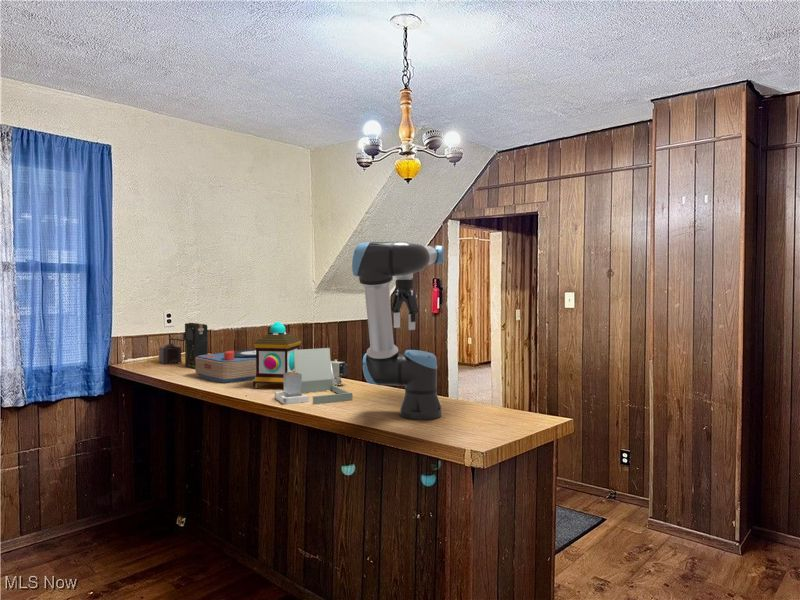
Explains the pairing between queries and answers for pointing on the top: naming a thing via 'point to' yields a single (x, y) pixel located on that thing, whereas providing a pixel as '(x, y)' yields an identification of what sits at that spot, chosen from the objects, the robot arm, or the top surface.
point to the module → (292, 384)
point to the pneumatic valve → (339, 371)
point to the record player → (227, 366)
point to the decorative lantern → (275, 355)
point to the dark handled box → (170, 352)
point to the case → (318, 374)
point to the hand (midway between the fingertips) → (404, 328)
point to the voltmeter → (195, 342)
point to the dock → (290, 398)
